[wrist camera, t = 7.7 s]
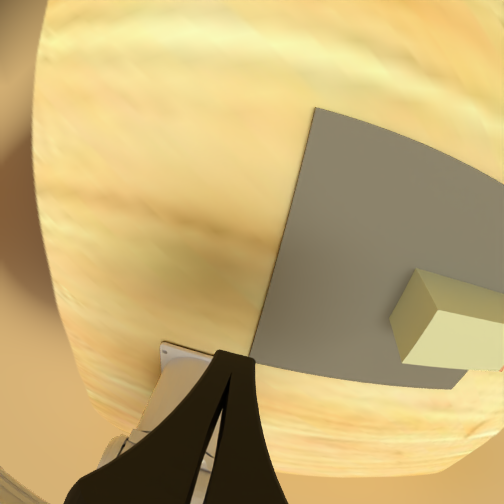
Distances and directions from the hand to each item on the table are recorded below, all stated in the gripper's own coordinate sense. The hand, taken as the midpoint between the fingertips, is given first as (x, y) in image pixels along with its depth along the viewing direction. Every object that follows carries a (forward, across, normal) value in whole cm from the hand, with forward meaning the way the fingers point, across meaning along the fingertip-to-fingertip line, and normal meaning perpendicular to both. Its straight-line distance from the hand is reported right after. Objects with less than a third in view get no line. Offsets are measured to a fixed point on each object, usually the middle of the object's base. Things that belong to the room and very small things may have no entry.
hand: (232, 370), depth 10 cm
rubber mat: (+10, -12, +1) cm, 16 cm away
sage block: (+8, -10, +1) cm, 13 cm away
